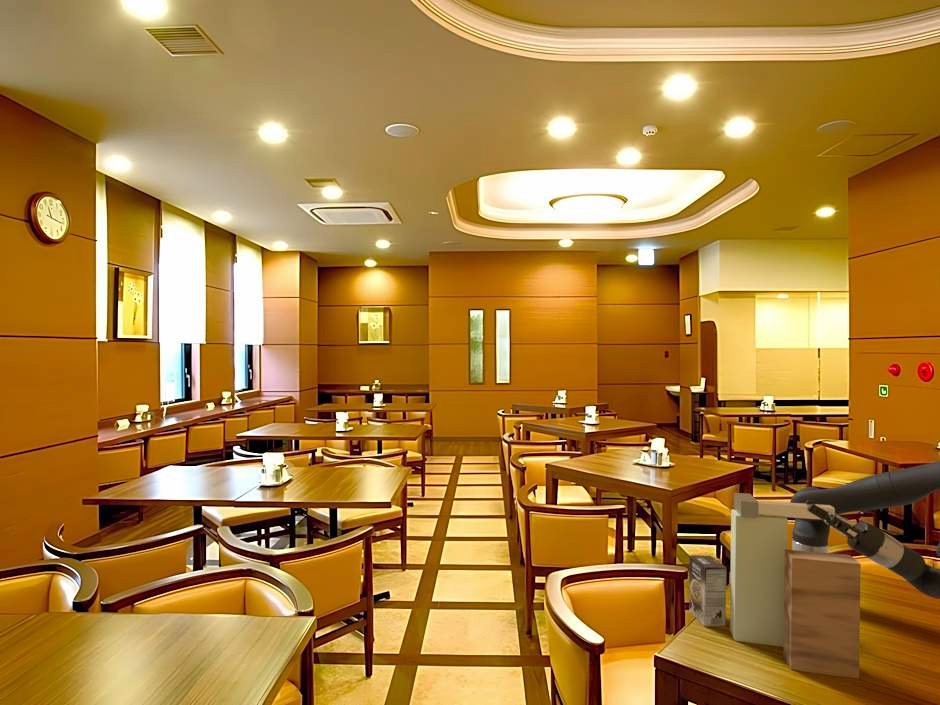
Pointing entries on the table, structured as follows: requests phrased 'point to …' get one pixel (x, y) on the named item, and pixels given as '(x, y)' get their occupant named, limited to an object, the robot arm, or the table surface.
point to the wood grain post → (822, 613)
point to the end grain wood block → (774, 508)
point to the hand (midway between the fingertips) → (808, 505)
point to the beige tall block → (757, 578)
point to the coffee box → (707, 590)
